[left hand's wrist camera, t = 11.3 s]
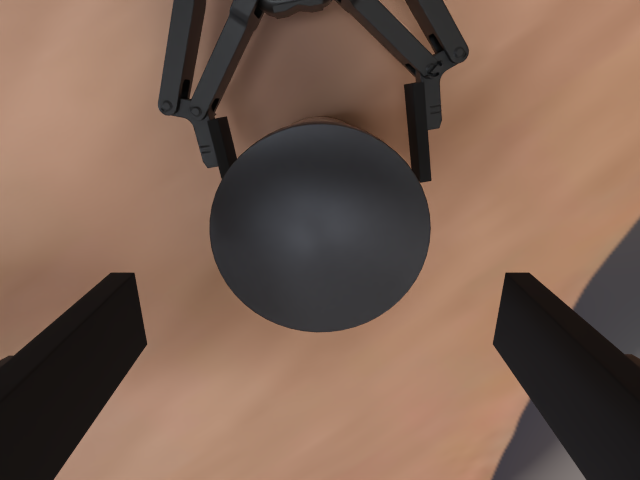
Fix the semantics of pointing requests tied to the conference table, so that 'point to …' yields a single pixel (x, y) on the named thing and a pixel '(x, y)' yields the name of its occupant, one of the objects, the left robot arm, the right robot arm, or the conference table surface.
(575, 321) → the left robot arm
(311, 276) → the lid
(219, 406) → the conference table surface
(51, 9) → the conference table surface
